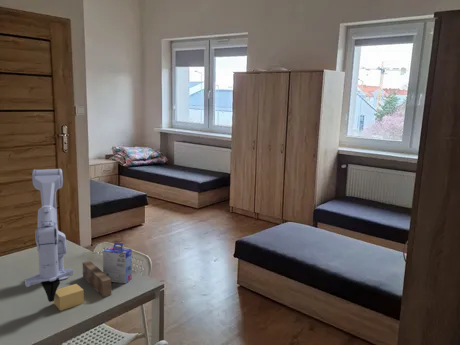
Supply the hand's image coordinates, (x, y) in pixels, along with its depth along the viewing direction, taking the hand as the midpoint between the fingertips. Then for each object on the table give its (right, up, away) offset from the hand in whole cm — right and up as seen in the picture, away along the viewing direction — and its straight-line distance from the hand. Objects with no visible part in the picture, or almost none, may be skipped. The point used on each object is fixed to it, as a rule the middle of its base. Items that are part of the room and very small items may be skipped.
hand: (50, 300), depth 135 cm
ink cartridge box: (+16, +1, +23) cm, 28 cm away
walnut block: (+10, 0, +17) cm, 20 cm away
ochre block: (+4, -2, +4) cm, 7 cm away
